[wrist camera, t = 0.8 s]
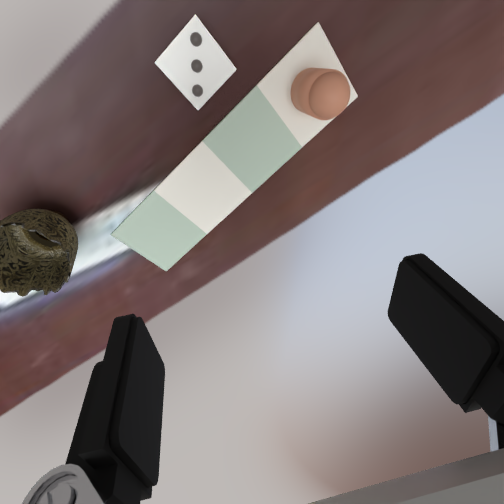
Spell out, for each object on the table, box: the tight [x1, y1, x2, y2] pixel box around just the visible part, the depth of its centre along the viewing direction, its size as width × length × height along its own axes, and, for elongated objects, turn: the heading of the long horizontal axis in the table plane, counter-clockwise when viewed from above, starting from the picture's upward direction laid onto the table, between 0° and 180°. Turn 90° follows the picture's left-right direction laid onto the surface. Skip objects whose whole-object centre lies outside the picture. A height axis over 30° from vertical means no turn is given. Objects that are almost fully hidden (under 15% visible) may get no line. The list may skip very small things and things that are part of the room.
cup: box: [0, 209, 78, 296], centre depth 28 cm, size 8×7×8 cm
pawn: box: [291, 68, 350, 120], centre depth 27 cm, size 4×4×6 cm
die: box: [155, 14, 237, 110], centre depth 24 cm, size 4×4×5 cm
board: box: [111, 22, 358, 271], centre depth 32 cm, size 30×8×1 cm, turn 131°
